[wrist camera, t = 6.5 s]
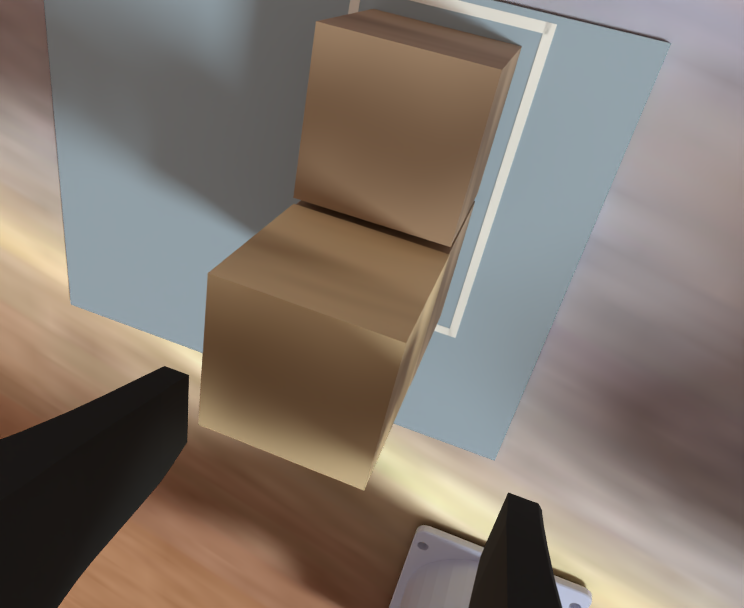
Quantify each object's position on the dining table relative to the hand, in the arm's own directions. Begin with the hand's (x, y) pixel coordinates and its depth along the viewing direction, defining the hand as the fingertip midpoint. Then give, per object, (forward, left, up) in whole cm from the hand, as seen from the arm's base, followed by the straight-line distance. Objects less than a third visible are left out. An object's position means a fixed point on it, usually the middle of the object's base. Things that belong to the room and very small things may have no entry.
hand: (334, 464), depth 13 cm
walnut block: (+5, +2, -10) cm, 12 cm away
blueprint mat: (0, +6, -10) cm, 12 cm away
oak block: (+1, +2, -6) cm, 6 cm away
